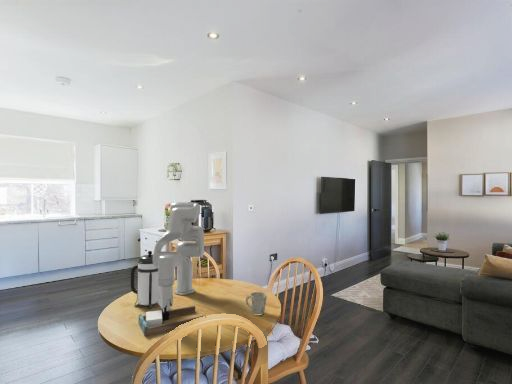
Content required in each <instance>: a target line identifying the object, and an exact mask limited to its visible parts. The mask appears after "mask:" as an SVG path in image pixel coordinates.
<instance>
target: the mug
mask: <svg viewBox="0 0 512 384" xmlns="http://www.w3.org/2000/svg"><path fill="white" fill-rule="evenodd" d="M267 297H268V296H267V293H265V292H261V291H256V292H251V294H250V295H247V297H246V298H245V304H246V306H248V308H249V309H251V310H252V314H253V313H254V314H263V313H264V314H265V312H266V311H265V310H266V305H267ZM249 299H250V301H251V305H250V304H249Z"/></svg>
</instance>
